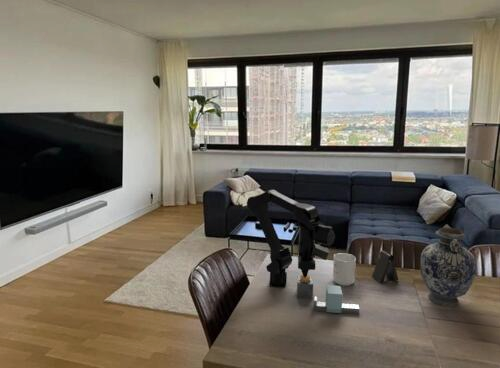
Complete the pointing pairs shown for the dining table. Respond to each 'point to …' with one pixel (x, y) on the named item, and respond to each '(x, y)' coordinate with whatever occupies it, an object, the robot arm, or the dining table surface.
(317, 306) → the rail
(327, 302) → the grey block
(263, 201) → the robot arm
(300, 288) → the grey hollow box
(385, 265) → the black tent sign
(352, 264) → the mug
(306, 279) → the orange and white mushroom
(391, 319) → the dining table surface
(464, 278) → the decorative vase
